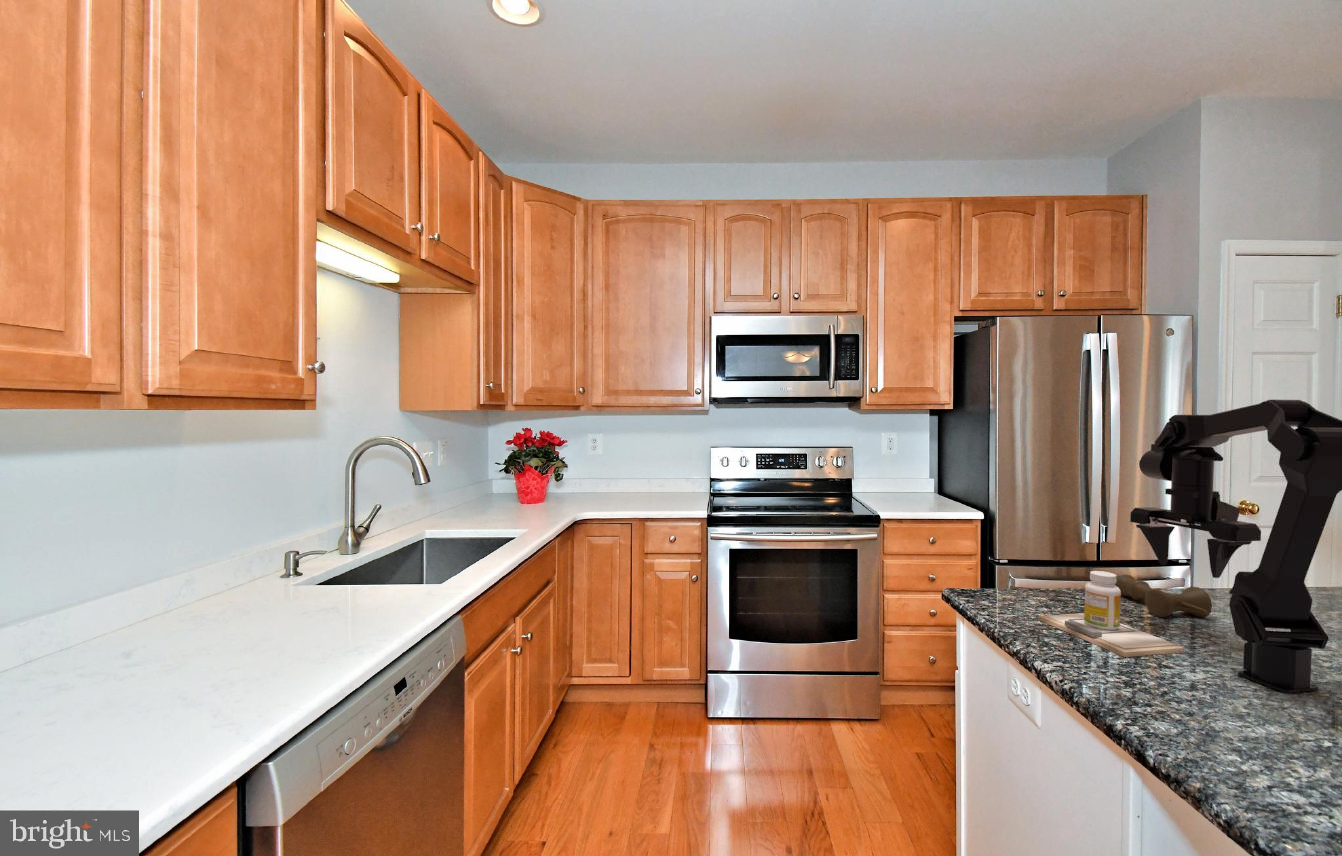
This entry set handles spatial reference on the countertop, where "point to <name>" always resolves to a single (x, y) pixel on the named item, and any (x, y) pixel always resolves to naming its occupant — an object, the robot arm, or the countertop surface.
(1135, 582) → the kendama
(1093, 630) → the beige rectangular board
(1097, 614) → the supplement bottle
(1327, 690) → the countertop surface
